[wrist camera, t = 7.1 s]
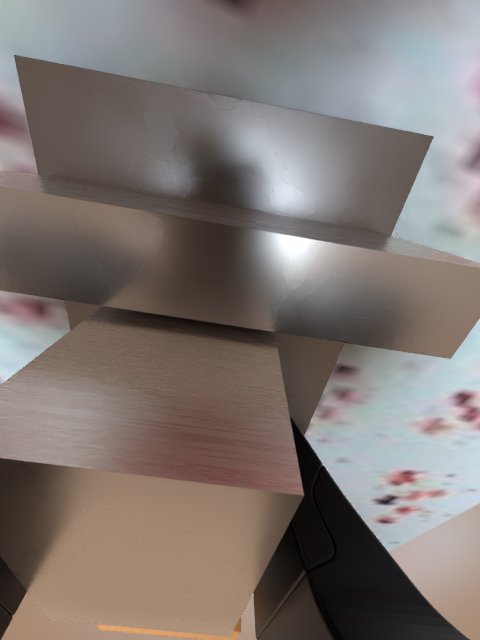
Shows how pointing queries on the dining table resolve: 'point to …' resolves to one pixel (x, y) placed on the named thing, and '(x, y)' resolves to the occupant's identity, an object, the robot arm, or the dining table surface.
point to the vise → (227, 221)
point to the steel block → (147, 471)
